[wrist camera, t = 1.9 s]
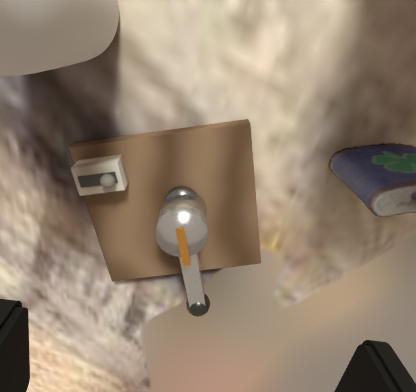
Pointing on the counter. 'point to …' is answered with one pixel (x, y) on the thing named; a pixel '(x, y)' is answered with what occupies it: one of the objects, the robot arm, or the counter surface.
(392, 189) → the flask
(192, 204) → the crank handle
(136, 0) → the counter surface
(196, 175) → the lever stand
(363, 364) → the robot arm
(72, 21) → the milk bottle
